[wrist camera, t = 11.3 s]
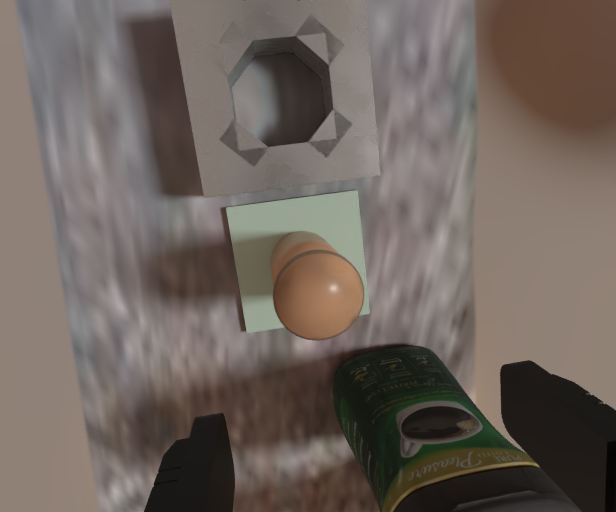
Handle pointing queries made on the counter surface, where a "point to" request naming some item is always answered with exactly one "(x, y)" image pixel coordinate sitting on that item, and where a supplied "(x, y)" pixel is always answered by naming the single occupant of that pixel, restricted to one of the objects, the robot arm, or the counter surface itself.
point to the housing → (266, 41)
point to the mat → (276, 225)
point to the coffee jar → (432, 440)
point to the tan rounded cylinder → (314, 287)
